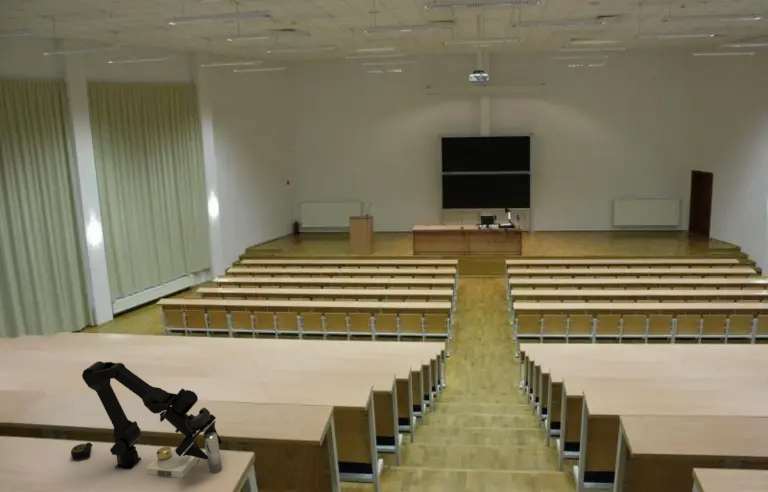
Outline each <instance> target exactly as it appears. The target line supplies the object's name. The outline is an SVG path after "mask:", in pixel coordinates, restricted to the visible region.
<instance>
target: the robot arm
mask: <svg viewBox="0 0 768 492" xmlns="http://www.w3.org/2000/svg"><path fill="white" fill-rule="evenodd" d="M81 377H82V379H83V382H84V383H85V385H87V387H88V388H89V389H91V390H93V391H95V392H96V394H97V396H98V398H99V400H100V403H101V404H102V406H103V408H104V410H105V413H106V415H107V416H108V418H109V421H110V423H111V425H112V427H113V432H112V434H113V440H114V442H115V443H114V444H113V445H112V447H111V448H110V449H109V452H110V453H111V455H112V456H116V461H117V464H116V465H115V469H124V470H131V469H132V468H134V466H135V465H137V464H138V463H139V462H140V461H141V460H142V457H141V456H140V457H139V453H138V450H137V446H136V444H137V443H138V442H139V439H140V437H141V435H142V434H141V433H142V432H141V431H142V430H141V428H140V427H139V425H138V422H137V421H136V420H134V421H131V420H129V419H128V417H127V415H126V413H125V411H124V410H123V407H122V405H121V403H120V401H119V399H118V397H117V395H116V393H115V391H114V389H113V387H112V384H111V380H112V379H114V380H115V381H117V382H119V383H120V384H121V385H122V386H124V387H125V388H126V389H128V390H129V391H131V392H132V393H134V394H135V395H137V396H138V397H139V398H140V399H141V401H142V402H143V406H144V407H146V408H147V409H148V411H150V413H152V414H155V415H156V414H159V417H160V418H159V421H160V423H161V422H162V423H163V421H165V420H166V421H167V422H169V424H171V426H173V428H175V431H174V432H175V433H176V434H178V433H180V434H181V435H183V436H184V439H183V440H182V441H181V443H179V444H178V446H177V447H176V448H174V449H175V451H176V454H177V455H179V456H181V455H182V454H183V453H184V454H183V456H185V455H188V456H194V457H198V458H201V459H203V460H207V459H208V456H207V454H206V452H204V451H203V450H202V449H201V448H200V446H198V443H197V440H195V439H196V438H197V437H198V436H199V435H200V434H201V433H203V434H202V435H203V436H205V435H206V434H208V433H211V432H214V433H217V438H218V444H219V445H221V444H222V440H221V438H220V436H219V434H218V432H217V430H216V419H217V417H215V415H213V414H212V413H211V412H210V410H209V409H207V408H206V407H202V408H201V409H200V410H199V411H198V414H196V415H194V414H191V413H190V414H188V413H189V412H190V410H191V409H192V408H193V407H194V405H196V403H197V402H198V395H197V393H196V392H195V391H193V390H189V389H184V388H181V389H180V390H179V391H178V392H177V393H173V392H169V391H167V390H165V389H163V388H161V387H157V386H152V385H150V384H149V383H147V382H146V381H145V380H143V379H142V378H140V376H138V375H137V374H135V373H134V372H132V371H131V370H129V369H128V367H126V366H125V364H124V363H122V362H114V361H113V362H112V361H106V362H104V361H96V362H94V363H93V364H91V365H89V367H87V368H85V369H84V370H83V372H82V374H81ZM194 440H195V441H194ZM201 459H200V460H201Z"/></svg>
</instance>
